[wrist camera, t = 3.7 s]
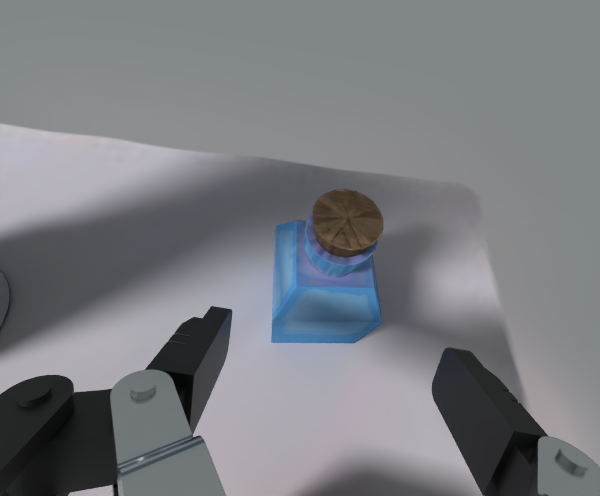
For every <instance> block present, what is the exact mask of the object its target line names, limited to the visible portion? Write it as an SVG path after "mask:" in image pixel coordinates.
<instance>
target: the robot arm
mask: <svg viewBox="0 0 600 496" xmlns="http://www.w3.org/2000/svg"><path fill="white" fill-rule="evenodd" d="M9 297H10V294H9V287H8V283H7V281H6V279H5V277H4V275H3V274H2V273H1V272H0V326H1V324H2V322H3V320H4V317H5V315H6V312H7V309H8V304H9ZM231 320H232V310H231V309H226V308H220V307H214V306H211V307H210V309H209V310H208V312H207V313H206V314H205V316H204V317H203V319H202V318H197V317H193V318H191V319H190V320H188V321H186V322H184V323H182V324H181V326H180V327H179V328H178V329H177V331H176V332H175V334H173V336H172V337H171V338H170V339H169V341H168V342H167V343H166V344H165V345H164V347H163V348H162V349H161V350H160V352H159V353H158V354H157V355H156V357H155V358H154V359H153V360H152V362H151V363H150V364H149V365H148V367H147V368H146V369H145V370H142V371H137V372H134V373H132V374H129V375H127V376H125V377H124V378H122V379H121V380H120V381H119V382H117V383H116V385H115V386H114V387H113V389H108V390H99V391H87V392H75V393H74V387H73V383H72V381H71V380H70V379H68V378H67V377H64V376H60V375H45V376H39V377H35V378H31V379H28V380H25V381H23V382H20V383H18V384H16V385H14V386H12V387H11V388H9V389H7V390H6V391H5V392H3V393H2V394H1V395H0V496H68V494H69V493H70V492H75V491H81V490H86V489H92V488H97V487H103V486H109V485H112V493H113V496H226V494H225V492H224V489H223V487H222V484H221V482H220V479H219V476H218V474H217V471H216V469H215V466H214V464H213V461H212V458H211V456H210V453H209V451H208V448H207V446H206V443H205V441H204V439H203V438H202V437H201V436H196V437H193V433H194V431H195V429H196V426H197V424H198V422H199V419H200V417H201V415H202V413H203V410H204V408H205V406H206V403H207V401H208V399H209V397H210V394H211V392H212V390H213V387H214V385H215V383H216V381H217V378H218V376H219V374H220V371H221V369H222V367H223V365H224V362H225V359H226V356H227V351H228V346H229V337H230V329H231ZM432 395H433V399H434V401H435V403H436V405H437V407H438V409H439V411H440V413H441V415H442V417H443V419H444V421H445V422H446V424H447V426H448V428H449V430H450V432H451V434H452V436H453V438H454V440H455V442H456V444H457V446H458V448H459V450H460V452H461V454H462V456H463V458H464V459H465V461H466V463H467V465H468V467H469V469H470V471H471V473H472V475H473V477H474V479H475V481H476V483H477V485H478V487H479V489H480V491H481V493H482V494H483V496H600V467H599V466H598V465H597V464H596V463H595V462H594V461H593V460H592V459H591V458H589V457H588V456H587V455H586V454H584V453H583V452H582V451H580V450H579V449H577V448H576V447H574V446H572V445H570V444H569V443H566V442H564V441H562V440H560V439H557V438H553V437H549V436H548V435H547V434H546V433H545V432H544V430H543V429H542V428H541V427H540V426H539V425H538V424H537V422H536V421H535V420H534V419H533V418H532V417H531V415H530V414H529V413H528V412H527V411H526V410H525V408H524V407H523V406H522V405H521V404H520V403H518V400H517V399H516V398H515V397H514V396H513V395H512V393H509V390H508V389H507V388H506V386H505V385H504V384H503V383H502V382H501V381H500V379H499V378H497V377H496V376H495V375H493V374H492V373H491V372H490V371H488V370H487V369H486V368H484V367H483V365H482V364H481V363H480V362H479V361H478V359H477V358H476V357H475V356H474V355H473V354H472V353H471V352H470V351H467V350H461V349H455V348H446V349H445V350H444V352H443V354H442V357H441V360H440V363H439V365H438V368H437V371H436V374H435V376H434V379H433V383H432Z"/></svg>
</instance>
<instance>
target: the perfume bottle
mask: <svg viewBox="0 0 600 496" xmlns="http://www.w3.org/2000/svg"><path fill="white" fill-rule="evenodd" d="M382 231H383V217H382V214H381V211H380V210H379V208H378V207H377V206H376V204H375V203H374V202H373V201H372V200H371V199H369V198H368V197H367V196H365V195H363V194H361V193H359V192H356V191H352V190H346V189H342V190H333V191H331V192H328V193H325V194H324V195H323V196H322V197H320V198H319V199H318V200H317V202H316V204H315V205H314V207H313V213H312V214H311V216H310V217H309V219H308V220H294V221H290V222H287V223H284V224H280V225H277V226H276V231H275V254H274V281H273V309H272V338H271V343H355V342H356V341H358V340H359V339H361V338H362V337H363V336H365V335H366V334H367V333H369V332H370V331H372V330H373V329H374V328H376V327H377V326H378V325H380V324H381V323H382V320H381V313H380V306H379V299H378V291H377V284H376V277H375V270H374V263H373V256H372V254H373V252H374V250H375V248H376V245H377V240H378V239H379V238H380V235H381V233H382Z"/></svg>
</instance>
